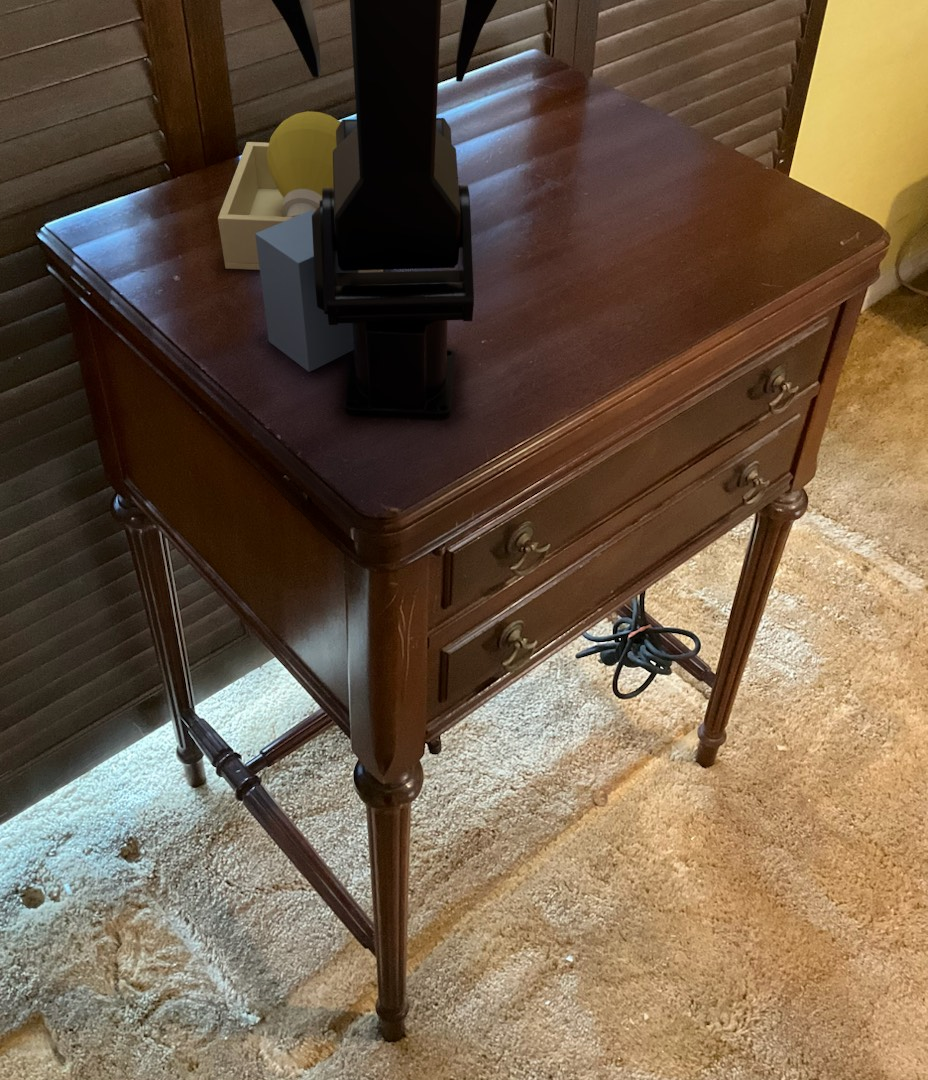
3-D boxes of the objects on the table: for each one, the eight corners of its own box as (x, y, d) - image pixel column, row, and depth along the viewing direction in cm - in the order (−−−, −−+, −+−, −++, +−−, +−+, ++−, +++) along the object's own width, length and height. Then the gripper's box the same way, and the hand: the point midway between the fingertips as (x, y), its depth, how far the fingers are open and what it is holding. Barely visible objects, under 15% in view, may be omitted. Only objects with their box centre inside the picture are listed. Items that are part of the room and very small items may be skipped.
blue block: (362, 345, 73) (357, 237, 67) (309, 372, 71) (298, 263, 65) (321, 316, 75) (312, 209, 70) (268, 341, 73) (254, 233, 67)
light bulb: (317, 178, 73) (333, 78, 78) (234, 208, 76) (255, 109, 81) (368, 246, 79) (380, 148, 84) (288, 271, 81) (304, 175, 86)
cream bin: (382, 275, 79) (380, 224, 76) (225, 268, 79) (217, 218, 76) (395, 196, 87) (394, 147, 84) (253, 190, 87) (246, 141, 84)
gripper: (545, -237, 66) (529, 32, 77) (232, -246, 66) (261, 24, 77) (553, -190, 58) (533, 102, 70) (198, -200, 58) (235, 93, 70)
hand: (388, 77), depth 72 cm, fingers open, 9 cm apart
